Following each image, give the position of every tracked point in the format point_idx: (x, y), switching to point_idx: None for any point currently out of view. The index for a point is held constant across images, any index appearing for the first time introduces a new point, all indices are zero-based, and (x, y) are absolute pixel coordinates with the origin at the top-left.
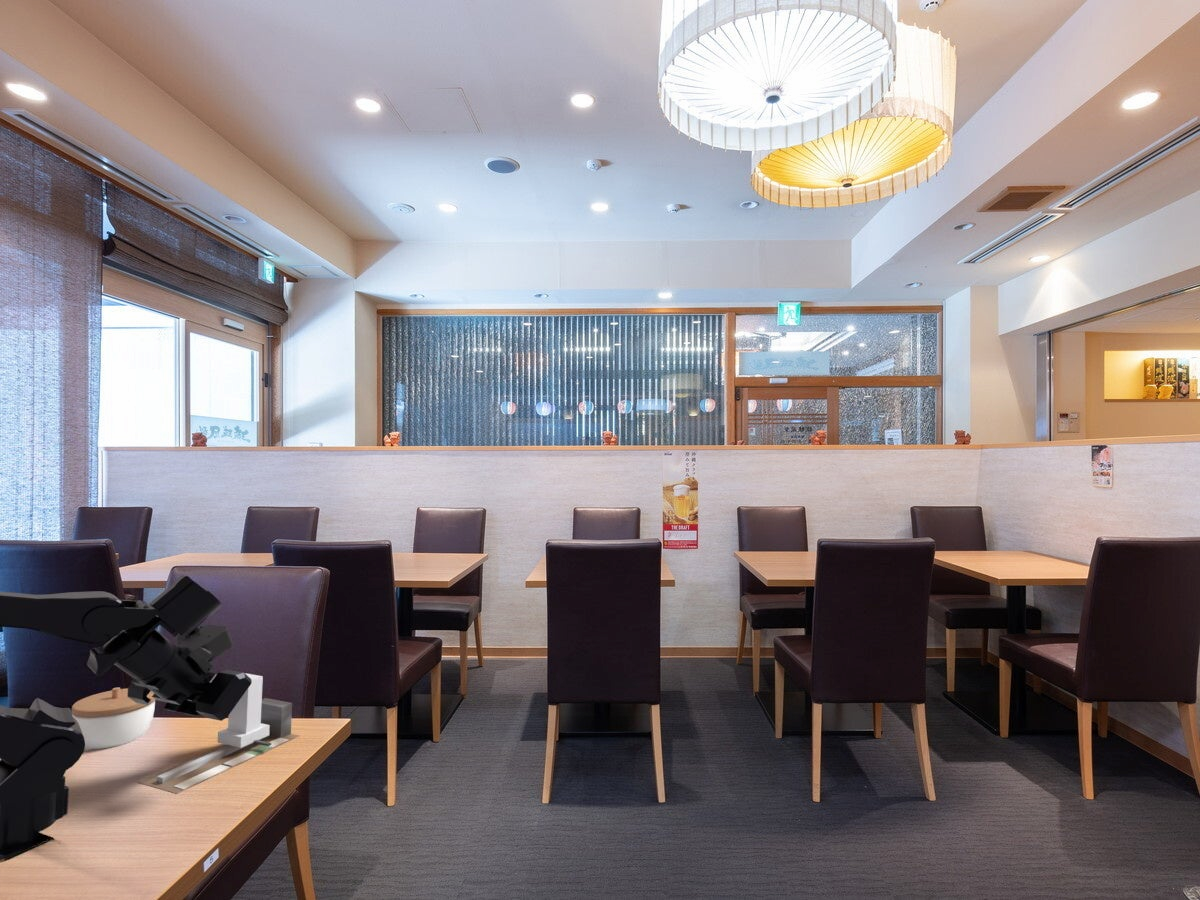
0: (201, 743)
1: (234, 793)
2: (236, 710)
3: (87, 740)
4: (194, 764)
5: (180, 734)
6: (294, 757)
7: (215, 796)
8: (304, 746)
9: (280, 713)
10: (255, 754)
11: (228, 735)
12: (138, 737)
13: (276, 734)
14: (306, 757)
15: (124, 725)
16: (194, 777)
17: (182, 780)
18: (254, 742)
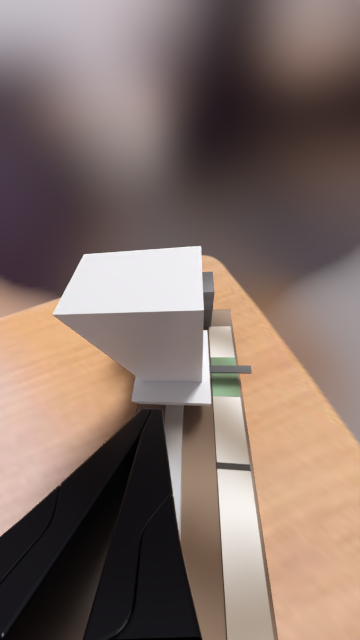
0: (76, 368)
1: (332, 532)
2: (155, 367)
3: None
4: (179, 527)
5: (22, 358)
6: (263, 348)
7: (311, 572)
8: (238, 317)
9: (210, 301)
10: (238, 395)
11: (167, 402)
12: None
13: None
14: (280, 341)
15: None
16: (229, 578)
17: (212, 612)
18: (210, 372)
